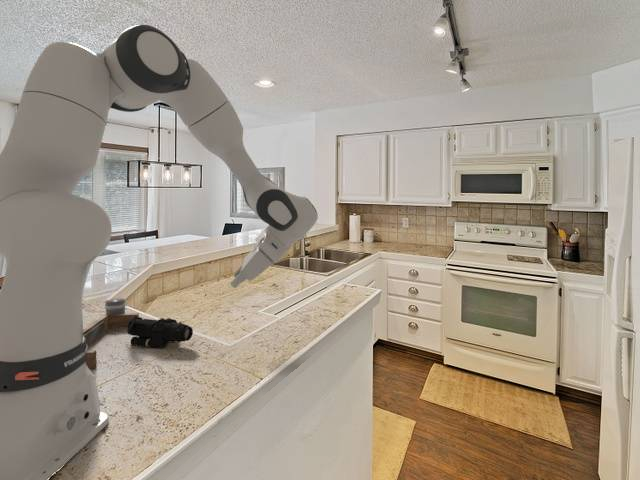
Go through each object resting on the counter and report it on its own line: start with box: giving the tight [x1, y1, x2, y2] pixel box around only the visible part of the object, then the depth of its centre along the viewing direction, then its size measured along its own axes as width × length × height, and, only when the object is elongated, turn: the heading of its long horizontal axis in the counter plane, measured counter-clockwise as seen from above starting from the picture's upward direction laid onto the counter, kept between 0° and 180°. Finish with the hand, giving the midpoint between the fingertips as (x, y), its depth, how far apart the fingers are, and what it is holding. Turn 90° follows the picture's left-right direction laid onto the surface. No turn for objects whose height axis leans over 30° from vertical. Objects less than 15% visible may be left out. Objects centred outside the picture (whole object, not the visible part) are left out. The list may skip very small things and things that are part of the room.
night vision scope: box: [127, 315, 194, 350], centre depth 86 cm, size 8×18×10 cm
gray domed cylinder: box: [104, 297, 127, 314], centre depth 101 cm, size 5×5×7 cm
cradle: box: [83, 313, 140, 371], centre depth 85 cm, size 26×9×4 cm, turn 9°
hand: (234, 281), depth 89 cm, fingers open, 8 cm apart
